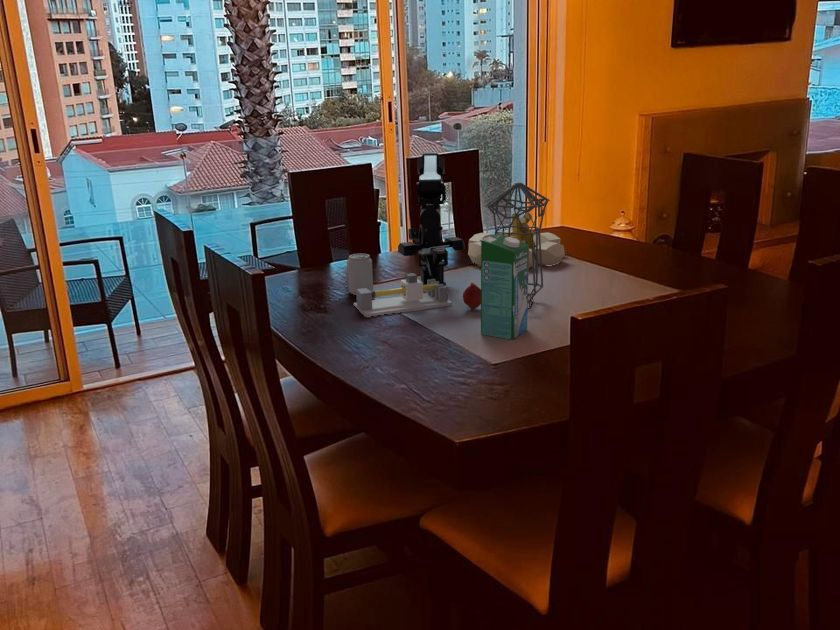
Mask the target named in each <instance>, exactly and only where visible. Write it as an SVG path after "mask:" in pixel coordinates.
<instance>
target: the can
mask: <svg viewBox="0 0 840 630" xmlns="http://www.w3.org/2000/svg"><path fill="white" fill-rule="evenodd" d="M373 274H374V273H373V259H371V257H370V254H367V253H353V254H350V255H349V256H348V260H347V280H348V281H347V282H348V292H349V293H350V294H351V295H352V294H353V296H355V295H356V289H362V288H367V289H368V290H369V291H374V279H373V277H374V276H373Z"/></svg>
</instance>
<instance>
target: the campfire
mask: <svg viewBox="0 0 840 630" xmlns="http://www.w3.org/2000/svg"><path fill="white" fill-rule="evenodd" d="M516 214H517V212H516ZM529 214H530V216H531V218H532V219H533V216H532V214H531V212H529ZM529 214H528V212H526V213H524V214H523V216H522V217H520V216H518V218H519V220H520V221H521V223H522V225H523V226H525V227H530V225H529V222H530V221H532V220H531V218H530V216H529ZM511 216H515V213H511ZM513 219H514V218H511V222H512V221H513ZM511 226H521V225H520V223H519V221H518V220H517V218H516V219H515V220H514V222H513V224H512V225H511ZM511 228H512V229H510V233H525V231H524V230H523V228H517V227H511ZM525 230H526V231H527V233H530V230H531V228H525ZM508 231H509V229H504V232H507V233H508ZM534 232H535V231H534V230H533V229H532V231H531V233H534ZM494 234H495V233H488V232H479V233H476V234H473V236H472V237H471V238H469V239H468V243H467V244H468V252H467V255H468V256H469V258H470V260H471V262H472V263H473V264H474V263H475V264H474V265H476V264H477V265H476V266H478V265H479V266H478V267H480V266H481V240H482V239H484V238H487V237H489V236H492V235H494ZM499 234H500V233H499ZM501 235H502V234H501ZM504 236H507V237H508V234H504ZM510 237H512V238H515V239H518V240H519V241H520V242H523V243H525V235H520V234H510ZM540 239H541V256H542V266H543V265H553V264H556V263H558V262H560V263H561V261H562V260H563V258H564V257H565V255H566V254H565V247H564V245H563V244H561V238H560V237H559V236H557V235H556V234H554V233H550V232H540ZM533 242H534V257H536V234H533ZM527 244H528V245H529V269H530V268H533V262H532V241H531V235H527ZM534 263H535V266H536V258H534ZM539 264H540V254H539V236H538V265H539Z"/></svg>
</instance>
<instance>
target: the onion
mask: <svg viewBox="0 0 840 630" xmlns="http://www.w3.org/2000/svg"><path fill="white" fill-rule="evenodd" d="M462 300H463V302H464V304H465V305H466V306H467V307H468V308H469V309H470V310H472V311H473V310H476V309H477V308H478V307H481V287H479V286H478V285H476V284H475V283H474V282H473V281H471V282H470V285H469V286H467V288H466V289H465V290H464V291H463V293H462Z"/></svg>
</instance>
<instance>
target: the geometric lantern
mask: <svg viewBox="0 0 840 630" xmlns="http://www.w3.org/2000/svg"><path fill="white" fill-rule="evenodd" d="M521 191H522V192H521ZM521 193H523V194H524V196H525V197H526V198H527V200H528V201H523V200H522V194H521ZM509 194H510V195H509ZM513 194H514V199H512V196H513ZM508 195H509V196H508ZM535 195H536V196H535ZM507 196H508V198H506V197H507ZM537 196H538V197H540V198H538V197H537ZM518 197H519V200H517V198H518ZM501 201H504V202H505V205H501V204H499V203H501ZM549 201H551V199H549V198H548V197H546V196H544V195H542V194H541V193H539V192H537V191H535V190H534V189H532V188H531V187H529V186H527V185H526V184H524V183H523V182H515V183H513V184H512V185H511V186H510V187H509V188H507V189H506V190H504V191H503V192H501V193H500V194H499V195H497V196H496V197H495V198H493V199H492V200H489V202H487V203H486V204H485V206H486V207H487V209H488V210H489V211H490V212H491V213H492V214H493V222H494V234H496V233H500V234H502V235H504V234H508V237H510V234H520V235H525V244H527V235H531V241H532V262H533V266H532V277H533V279H532V280H533V283H531V282H528V286H533V289H532V291H531V292H530V293H529V292H528V307H530V305H531V301H530V300H533V301H534V297H535V296H536V295H537V294H538V293H539V292H540V291H541V290H542V289H543V288H544V278H543V277H544V276H543V265H542V256H541V239H540V233H541V230H542V225H543V221H544V217H545V214H546V213H545V212H546V207H547V205H548V203H549ZM511 202H514V203H511ZM517 203H520V206H517ZM523 204H526V205H525V206H523ZM529 204H530V205H529ZM528 205H529V206H528ZM499 208H502V209H503V210H504V213H502V212H500V211H499ZM507 208H509V209H513V212H514V214H515V216H512V215H511V216H510V215H509V216H507V211H506V209H507ZM535 208H537V215H536V216H535V219H534V220H533V217H532V218H531V216H532V215H531V216H530V214H531V211H533V210H534V209H535ZM516 211H517V212H516ZM516 213H517V214H516ZM525 213H528V214H529V213H530V214H529V216H530V218H531V220H530V221H531V222H532V226H529V227H525V226H523V225H522V223H521V221H520V220H519V218H520V216H522V215H524V214H525ZM496 216H497V218H498V220H499V222H500V224H499V225H498V226H497V221H496ZM500 216H501V217H503V219H502V220H501V217H500ZM518 216H519V218H518ZM540 217H541V218H540ZM512 218H514V219H513V221H512V220H511V222H510V224H509V225H504V224H503V223H504V221H505V219H506V220H508V219H512ZM516 218H517V220H518V221H519V223H520V225H521V226H512V224H513V222H514V220H515V219H516ZM538 218H540V222H539V223H540V224H539V227H538V226H536V224H535V223H536V222H537V219H538ZM512 227H517V228H523V230H524V231H525V233H510V230H511V228H512ZM525 228H529V229H531V230H530V233H527V231H526V230H525ZM505 229H508V230H509V231H508V233H507V232H504V231H505ZM533 229H535V231H533V232H534V233H531V231H532V230H533ZM500 230H502V231H500ZM533 234H534V235H536V256H535V251H534V242H533ZM538 236H539V254H540V266H539V263H538ZM534 259H535V263H536V265H535V263H534ZM538 267H539V268H540V284H539V282H538V281H539V280H538V277H539V276H538V275H539V271H538V270H539V268H538ZM537 286H538V287H539V288H538V289H537Z"/></svg>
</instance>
